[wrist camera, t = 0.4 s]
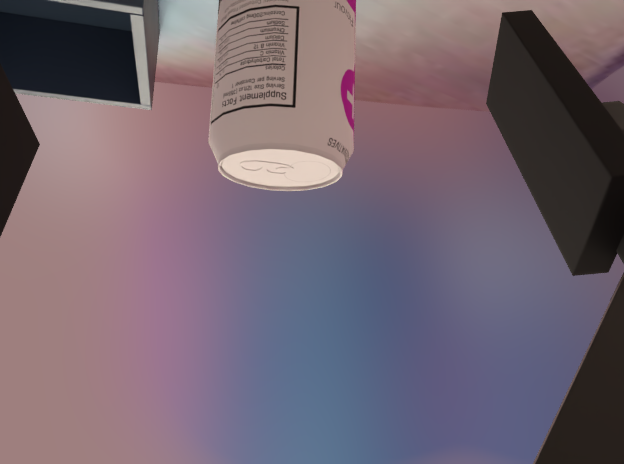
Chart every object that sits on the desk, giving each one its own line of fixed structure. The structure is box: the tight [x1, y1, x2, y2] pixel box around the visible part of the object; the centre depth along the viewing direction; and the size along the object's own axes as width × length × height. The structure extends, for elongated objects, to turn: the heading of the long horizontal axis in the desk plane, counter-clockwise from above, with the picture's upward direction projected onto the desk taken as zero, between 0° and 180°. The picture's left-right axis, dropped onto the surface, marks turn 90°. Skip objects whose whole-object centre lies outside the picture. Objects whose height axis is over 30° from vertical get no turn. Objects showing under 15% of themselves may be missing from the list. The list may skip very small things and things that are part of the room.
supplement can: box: [208, 0, 356, 191], centre depth 35 cm, size 8×8×15 cm
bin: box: [0, 0, 159, 110], centre depth 38 cm, size 14×14×7 cm
